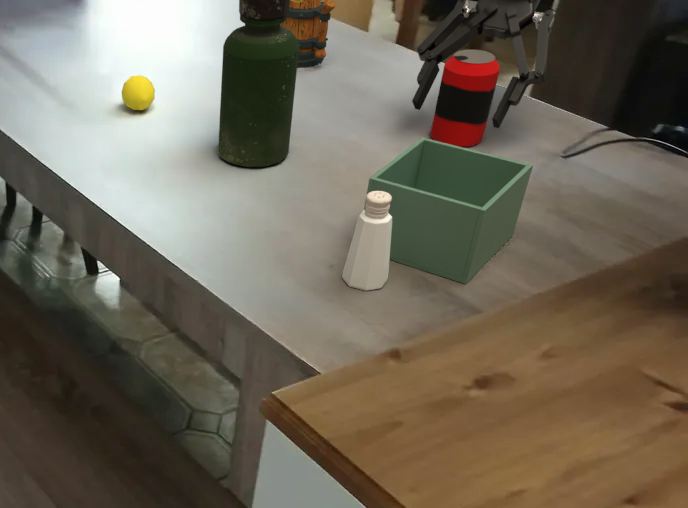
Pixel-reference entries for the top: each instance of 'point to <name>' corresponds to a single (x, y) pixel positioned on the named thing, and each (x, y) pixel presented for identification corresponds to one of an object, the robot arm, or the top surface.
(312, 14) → the mug
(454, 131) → the soda can
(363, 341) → the top surface
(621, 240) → the top surface
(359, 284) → the pepper shaker
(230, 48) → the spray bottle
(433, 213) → the green open box
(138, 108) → the lemon
